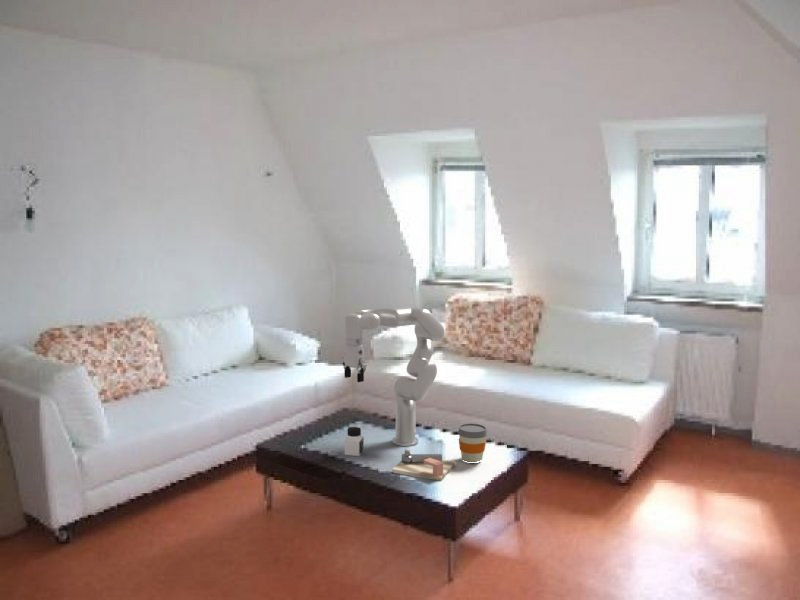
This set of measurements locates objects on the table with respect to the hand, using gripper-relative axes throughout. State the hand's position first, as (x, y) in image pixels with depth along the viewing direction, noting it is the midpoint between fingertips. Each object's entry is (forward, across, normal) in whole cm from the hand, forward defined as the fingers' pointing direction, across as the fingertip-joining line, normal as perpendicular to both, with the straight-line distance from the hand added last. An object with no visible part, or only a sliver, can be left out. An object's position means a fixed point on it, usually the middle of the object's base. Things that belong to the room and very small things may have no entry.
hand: (354, 379), depth 292 cm
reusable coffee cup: (+36, -37, -38) cm, 64 cm away
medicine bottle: (+35, +3, -2) cm, 36 cm away
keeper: (+34, -40, -12) cm, 54 cm away
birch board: (+35, -31, -14) cm, 49 cm away
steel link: (+33, -28, -16) cm, 46 cm away
